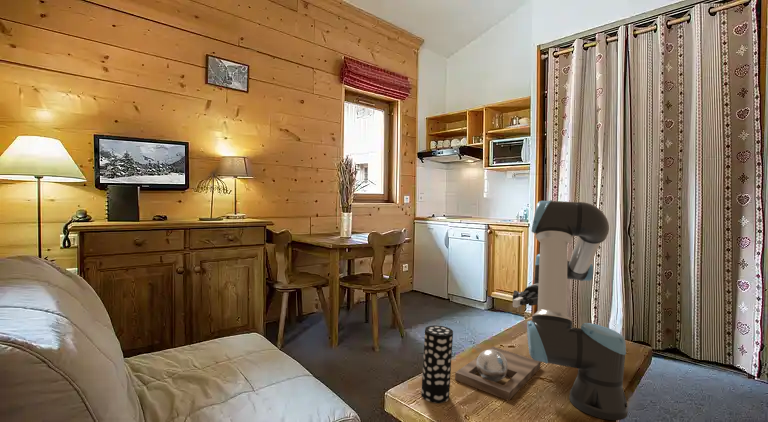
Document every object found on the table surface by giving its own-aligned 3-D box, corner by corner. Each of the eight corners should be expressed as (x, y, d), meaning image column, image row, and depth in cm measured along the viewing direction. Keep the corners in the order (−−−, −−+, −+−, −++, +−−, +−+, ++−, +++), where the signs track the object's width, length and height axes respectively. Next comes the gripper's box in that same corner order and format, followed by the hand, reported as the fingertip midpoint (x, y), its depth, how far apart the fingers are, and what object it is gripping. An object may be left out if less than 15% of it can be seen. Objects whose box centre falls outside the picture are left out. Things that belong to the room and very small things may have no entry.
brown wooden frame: (492, 352, 148) (492, 346, 148) (540, 368, 137) (540, 361, 137) (455, 379, 125) (455, 372, 125) (508, 400, 114) (509, 392, 114)
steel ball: (514, 360, 120) (511, 388, 122) (502, 343, 130) (499, 369, 132) (483, 361, 119) (480, 389, 122) (473, 343, 129) (471, 370, 131)
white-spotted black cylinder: (430, 385, 120) (434, 323, 119) (454, 395, 115) (458, 330, 114) (415, 395, 114) (419, 330, 113) (439, 406, 109) (444, 337, 108)
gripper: (551, 306, 153) (532, 318, 134) (519, 299, 161) (496, 309, 143) (552, 287, 153) (533, 297, 134) (520, 282, 161) (498, 290, 142)
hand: (514, 303), depth 138 cm, fingers closed
